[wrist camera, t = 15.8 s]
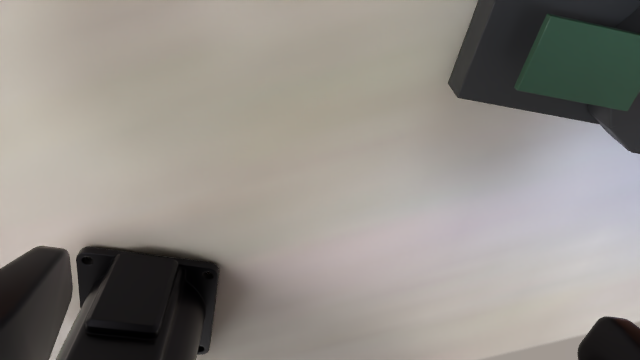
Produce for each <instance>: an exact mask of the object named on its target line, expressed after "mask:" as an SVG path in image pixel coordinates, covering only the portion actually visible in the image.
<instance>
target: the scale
mask: <svg viewBox="0 0 640 360" xmlns="http://www.w3.org/2000/svg"><path fill="white" fill-rule="evenodd" d="M547 14H553V15H558V16H562V17H567V18H571V19H576V20H580V21H585V22H590V23H594V24H599V25H603V26H608V27H612V28H617V29H622V30H626V31H631V32H635V33H640V0H479V1H478V4H477V6H476V9H475V12H474V14H473V17H472V20H471V23H470V25H469V28H468V31H467V33H466V36H465V39H464V41H463V44H462V47H461V50H460V52H459V55H458V58H457V60H456V63H455V66H454V68H453V71H452V74H451V77H450V79H449V82H448V84H449V86H450V87H451V89H452V90H453V92H454V93H455V95H456V96H457V97H458V98H462V99H467V100H473V101H478V102H483V103H489V104H494V105H499V106H505V107H510V108H516V109H521V110H526V111H532V112H537V113H542V114H548V115H553V116H558V117H564V118H569V119H574V120H580V121H585V122H590V123H596V124H600V125H601V126H602V127H603V128H604V129H605V130H606V131H607V132H608V133H609V134H610V135H611V136H612V137H613V138H614V139H616V140H617V141H618V142H619V143H620V144H621V145H623V146H624V147H625V148H626V149H627V150H628V151H631V152H632V153H638V154H640V92H639V93H638V95H637V97H636V98H635V100H634V102H633V103H632V105H631V106H630V108H629V110H628V111H622V110H617V109H612V108H606V107H601V106H596V105H591V104H586V103H580V102H575V101H570V100H565V99H560V98H554V97H549V96H544V95H539V94H534V93H528V92H523V91H518V90H516V88H515V87H514V86H515V84H516V81H517V79H518V77H519V75H520V72H521V70H522V68H523V66H524V64H525V61H526V59H527V57H528V55H529V52H530V50H531V48H532V46H533V44H534V41H535V39H536V37H537V35H538V32H539V30H540V28H541V26H542V24H543V21H544V19H545V17H546V15H547Z"/></svg>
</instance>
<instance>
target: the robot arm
mask: <svg viewBox="0 0 640 360" xmlns="http://www.w3.org/2000/svg"><path fill="white" fill-rule="evenodd" d="M87 257H90V258H91V259H89V258H87ZM76 262H77V273H78V284H79V296H80V307H81V310H80V312H79V314H78V316H77V318H76V320H75V322H74V324H73V326H72V328H71V330H70V332H69V334H68V336H67V338H66V340H65V342H64V344H63V346H62V348H61V350H60V352H59V354H58V356H57V358H56V360H196V357H197V354H198V355H203V354H206V353H207V352H208V351H209V347H210V341H211V333H212V325H213V317H214V309H215V302H216V294H217V286H218V278H219V267H218V266H217V265H216V264H214V263H211V262H204V261H197V260H189V259H181V258H173V257H165V256H157V255H149V254H141V253H133V252H125V251H117V250H110V249H102V248H94V247H85V248H82V249H81V250H80V252H79V254H78V255H77V258H76ZM206 272H211V273H210V274H208V273H206ZM72 290H73V285H72V275H71V265H70V256H69V253H68V251H67V250H65V249H63V248H55V247H47V246H38V247H35V248H33V249H32V250H30V251H28V252H27V253H25V254H23V255H22V256H20V257H19V258H17V259H15V260H14V261H12V262H10V263H9V264H7V265H6V266H4V267H2V268H1V269H0V360H49V358H50V355H51V352H52V350H53V347H54V344H55V342H56V339H57V336H58V334H59V331H60V328H61V325H62V323H63V320H64V317H65V315H66V312H67V309H68V307H69V304H70V301H71V297H72ZM578 360H640V328H639V327H637V326H636V325H635V324H633V323H632V322H630V321H629V320H627V319H623V318H616V317H607V316H606V317H602V318H600V319H599V320H598V321H597V322H596V323H595V325H594V326H593V327H592V329H591V330H590V331H589V333H588V334H587V335H586V337H585V338H584V339H583V340H582V342H581V343H580V345H579V348H578Z"/></svg>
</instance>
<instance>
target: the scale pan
mask: <svg viewBox="0 0 640 360" xmlns="http://www.w3.org/2000/svg"><path fill="white" fill-rule="evenodd" d="M514 87H515V88H516V90H518V91H523V92H528V93H534V94H539V95H544V96H549V97H554V98H560V99H565V100H570V101H575V102H580V103H586V104H591V105H596V106H601V107H606V108H612V109H617V110H622V111H628V110H629V108H630V106H631V105H632V103H633V102H634V100H635V98H636V97H637V95H638V93H639V92H640V33H635V32H631V31H626V30H622V29H617V28H612V27H608V26H603V25H599V24H594V23H590V22H585V21H580V20H576V19H571V18H567V17H562V16H558V15H553V14H547V15H546V17H545V19H544V21H543V24H542V26H541V28H540V30H539V32H538V35H537V37H536V39H535V41H534V44H533V46H532V48H531V50H530V52H529V55H528V57H527V59H526V61H525V64H524V66H523V68H522V70H521V72H520V75H519V77H518V79H517V81H516V84H515V86H514Z"/></svg>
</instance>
